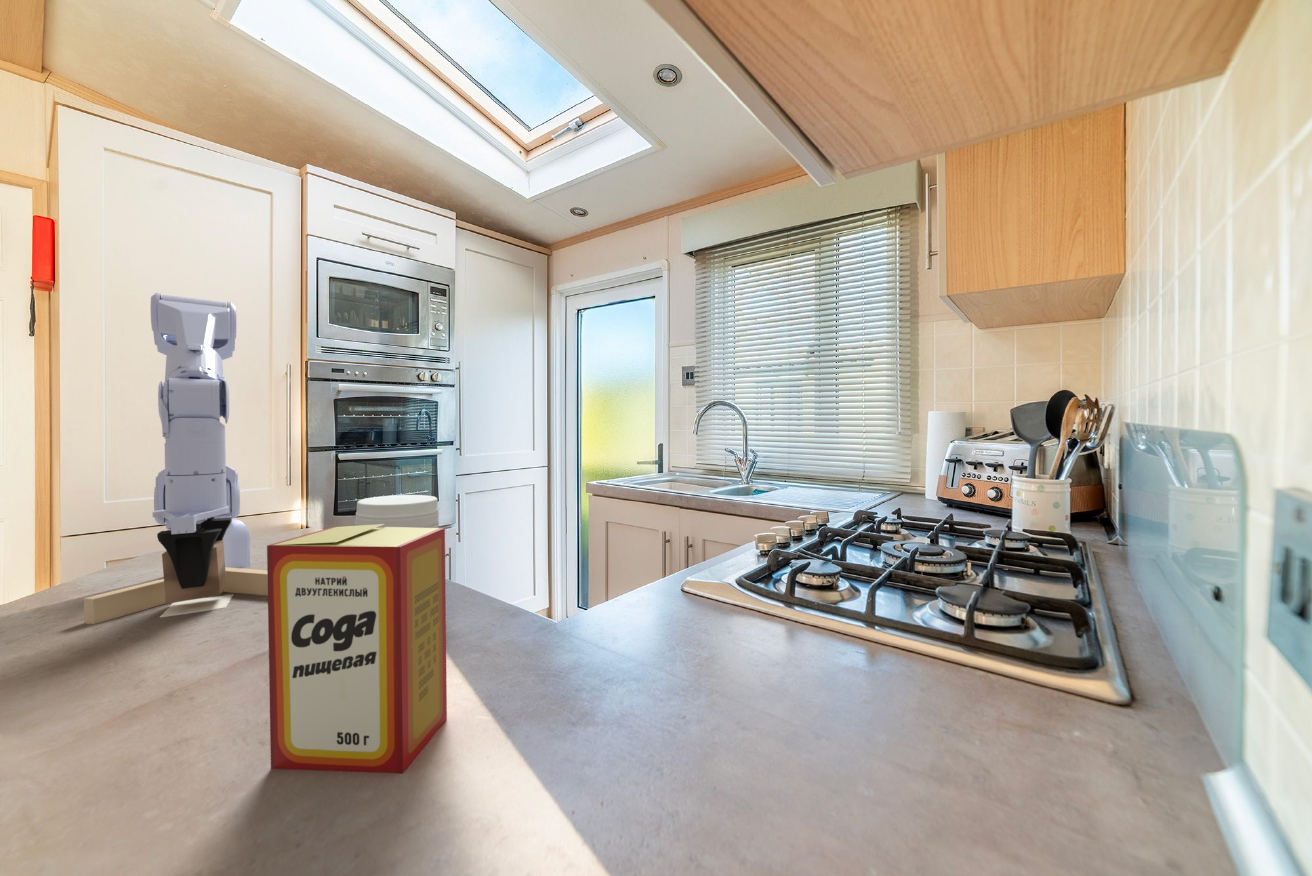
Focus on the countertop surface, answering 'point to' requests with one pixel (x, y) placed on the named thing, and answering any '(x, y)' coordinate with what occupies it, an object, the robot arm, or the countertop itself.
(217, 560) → the walnut block
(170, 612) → the corner board
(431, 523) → the supplement tub
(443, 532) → the baking soda box
